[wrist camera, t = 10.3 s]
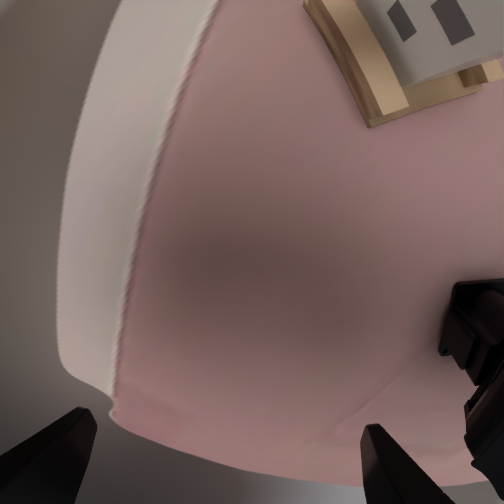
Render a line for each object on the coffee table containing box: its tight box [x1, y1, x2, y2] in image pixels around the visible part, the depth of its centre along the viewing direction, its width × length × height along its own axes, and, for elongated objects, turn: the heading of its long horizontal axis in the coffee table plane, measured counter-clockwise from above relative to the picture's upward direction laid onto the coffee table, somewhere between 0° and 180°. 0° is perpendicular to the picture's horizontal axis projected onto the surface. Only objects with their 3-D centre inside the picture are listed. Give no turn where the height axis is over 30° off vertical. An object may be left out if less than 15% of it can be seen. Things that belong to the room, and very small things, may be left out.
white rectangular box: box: [355, 0, 504, 88], centre depth 9 cm, size 6×4×12 cm, turn 25°
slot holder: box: [303, 0, 504, 128], centre depth 13 cm, size 9×9×4 cm
